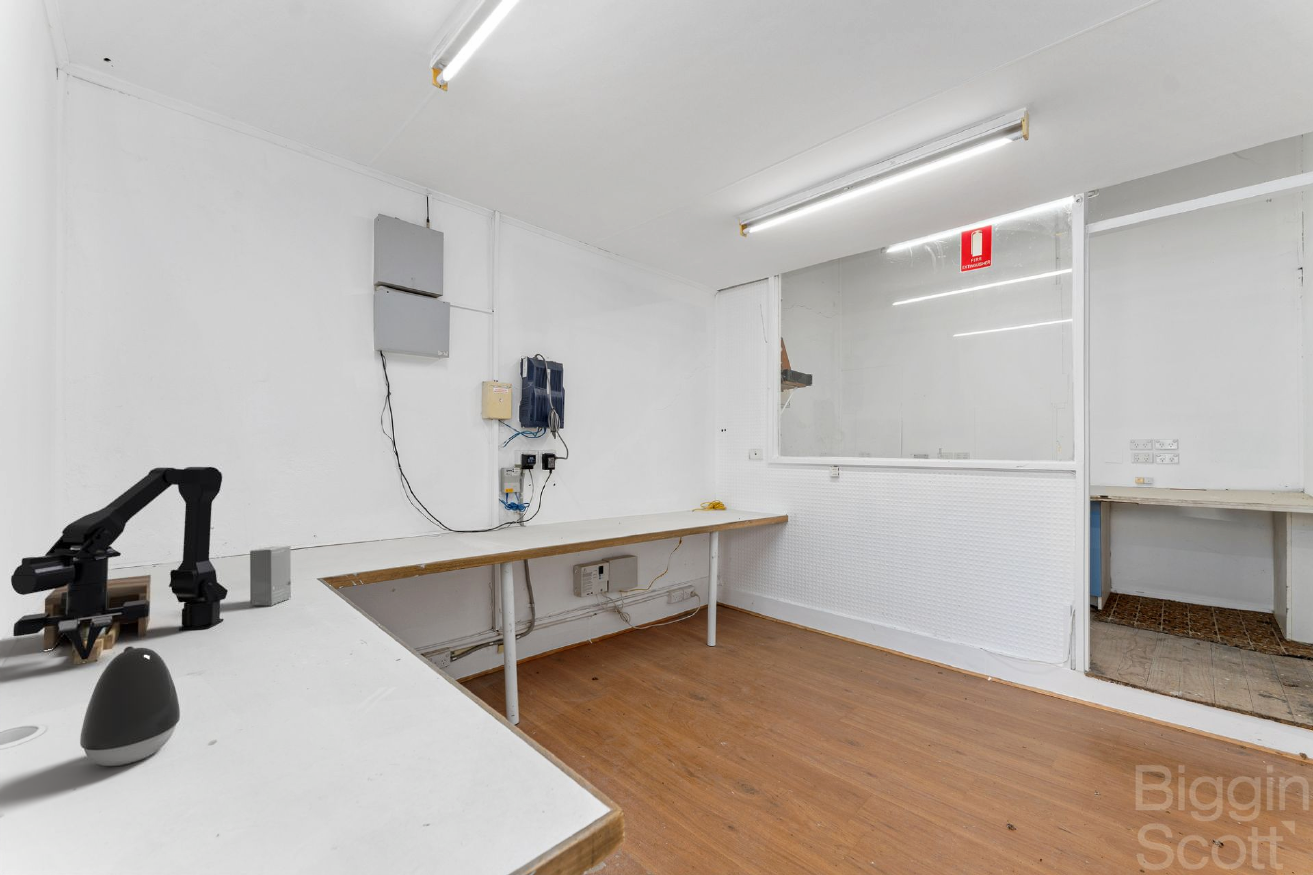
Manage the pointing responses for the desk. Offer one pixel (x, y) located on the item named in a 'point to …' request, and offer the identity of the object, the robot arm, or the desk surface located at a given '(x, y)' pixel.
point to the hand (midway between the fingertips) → (85, 659)
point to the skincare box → (270, 575)
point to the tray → (99, 641)
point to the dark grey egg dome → (130, 709)
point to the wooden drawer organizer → (118, 595)
